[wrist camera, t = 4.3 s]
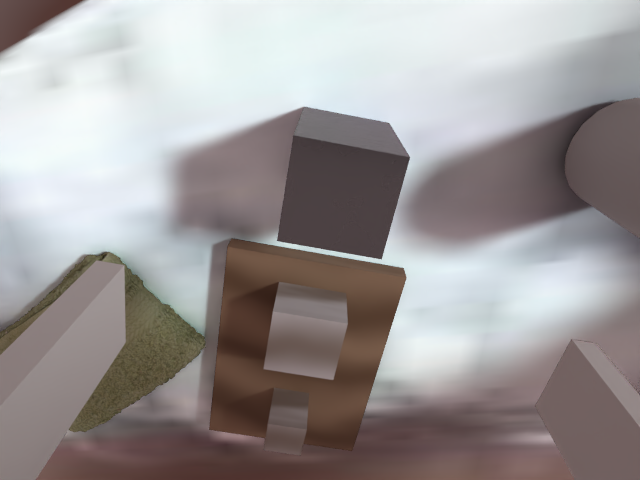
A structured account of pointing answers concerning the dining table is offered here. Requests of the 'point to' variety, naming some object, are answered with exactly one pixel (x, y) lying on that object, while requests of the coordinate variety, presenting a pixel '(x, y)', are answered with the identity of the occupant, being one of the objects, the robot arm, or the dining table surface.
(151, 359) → the washcloth
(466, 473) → the dining table surface
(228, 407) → the board
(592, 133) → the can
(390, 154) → the dark grey block
